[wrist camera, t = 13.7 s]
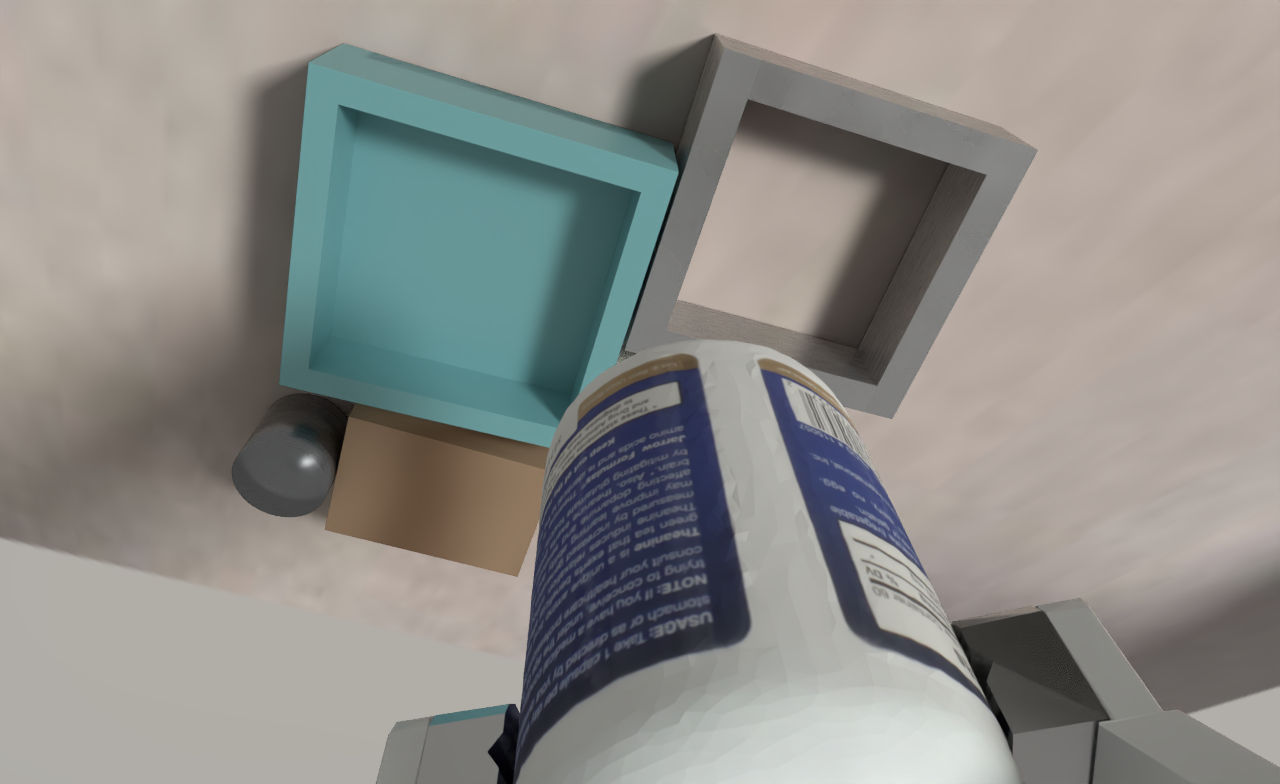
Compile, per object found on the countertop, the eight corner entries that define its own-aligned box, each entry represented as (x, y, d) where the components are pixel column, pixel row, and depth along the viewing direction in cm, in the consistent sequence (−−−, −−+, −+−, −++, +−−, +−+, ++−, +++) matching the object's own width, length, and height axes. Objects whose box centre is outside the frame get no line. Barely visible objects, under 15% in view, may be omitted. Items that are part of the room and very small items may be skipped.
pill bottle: (548, 580, 16) (484, 1352, 7) (541, 325, 13) (428, 1092, 5) (828, 580, 16) (1075, 1326, 8) (879, 330, 13) (1349, 1062, 5)
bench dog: (357, 405, 29) (331, 455, 26) (347, 471, 31) (321, 525, 28) (269, 385, 29) (234, 433, 26) (263, 453, 30) (229, 506, 27)
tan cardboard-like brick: (560, 431, 30) (556, 472, 28) (524, 532, 33) (517, 576, 31) (368, 377, 29) (348, 416, 27) (344, 486, 31) (324, 529, 29)
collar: (1001, 127, 25) (1037, 150, 22) (872, 379, 29) (891, 418, 27) (714, 33, 23) (724, 47, 21) (624, 314, 27) (624, 350, 25)
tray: (672, 143, 25) (678, 172, 22) (588, 406, 29) (585, 456, 27) (343, 43, 23) (308, 62, 20) (310, 338, 28) (278, 384, 25)
